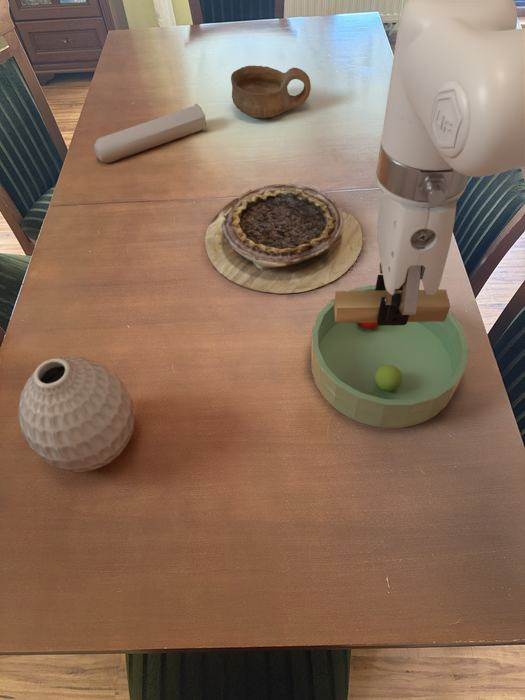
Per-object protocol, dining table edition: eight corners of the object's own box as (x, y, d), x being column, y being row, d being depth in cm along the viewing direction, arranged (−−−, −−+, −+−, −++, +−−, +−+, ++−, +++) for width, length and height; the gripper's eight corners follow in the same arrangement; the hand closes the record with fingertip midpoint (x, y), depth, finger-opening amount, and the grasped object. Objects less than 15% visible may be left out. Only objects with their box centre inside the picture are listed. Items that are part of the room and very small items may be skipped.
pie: (391, 254, 88) (396, 231, 84) (254, 319, 80) (252, 297, 76) (302, 176, 103) (302, 153, 99) (180, 224, 95) (175, 202, 91)
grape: (401, 396, 69) (406, 381, 67) (374, 396, 70) (378, 381, 67) (398, 374, 72) (402, 359, 69) (372, 374, 72) (375, 359, 69)
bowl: (298, 81, 125) (302, 43, 115) (313, 124, 120) (318, 88, 110) (226, 92, 123) (225, 54, 113) (239, 136, 118) (238, 100, 108)
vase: (150, 400, 72) (119, 323, 59) (139, 487, 64) (99, 421, 51) (60, 404, 72) (9, 328, 59) (38, 491, 64) (-27, 426, 51)
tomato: (381, 334, 76) (385, 318, 73) (357, 334, 76) (359, 318, 74) (379, 316, 78) (382, 299, 76) (355, 316, 79) (358, 300, 76)
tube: (98, 153, 104) (206, 115, 111) (87, 135, 106) (195, 98, 112) (103, 171, 109) (206, 134, 116) (92, 153, 111) (195, 117, 117)
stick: (445, 321, 56) (450, 306, 54) (335, 323, 57) (336, 307, 55) (440, 304, 58) (446, 289, 56) (333, 306, 58) (335, 290, 56)
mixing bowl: (470, 429, 67) (484, 405, 62) (313, 427, 68) (314, 404, 63) (442, 311, 79) (452, 284, 75) (309, 312, 81) (310, 285, 76)
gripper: (494, 227, 37) (436, 371, 52) (449, 113, 47) (412, 261, 62) (390, 229, 38) (362, 371, 52) (368, 116, 47) (349, 263, 62)
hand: (389, 311), depth 57 cm, fingers closed on stick, 2 cm apart
